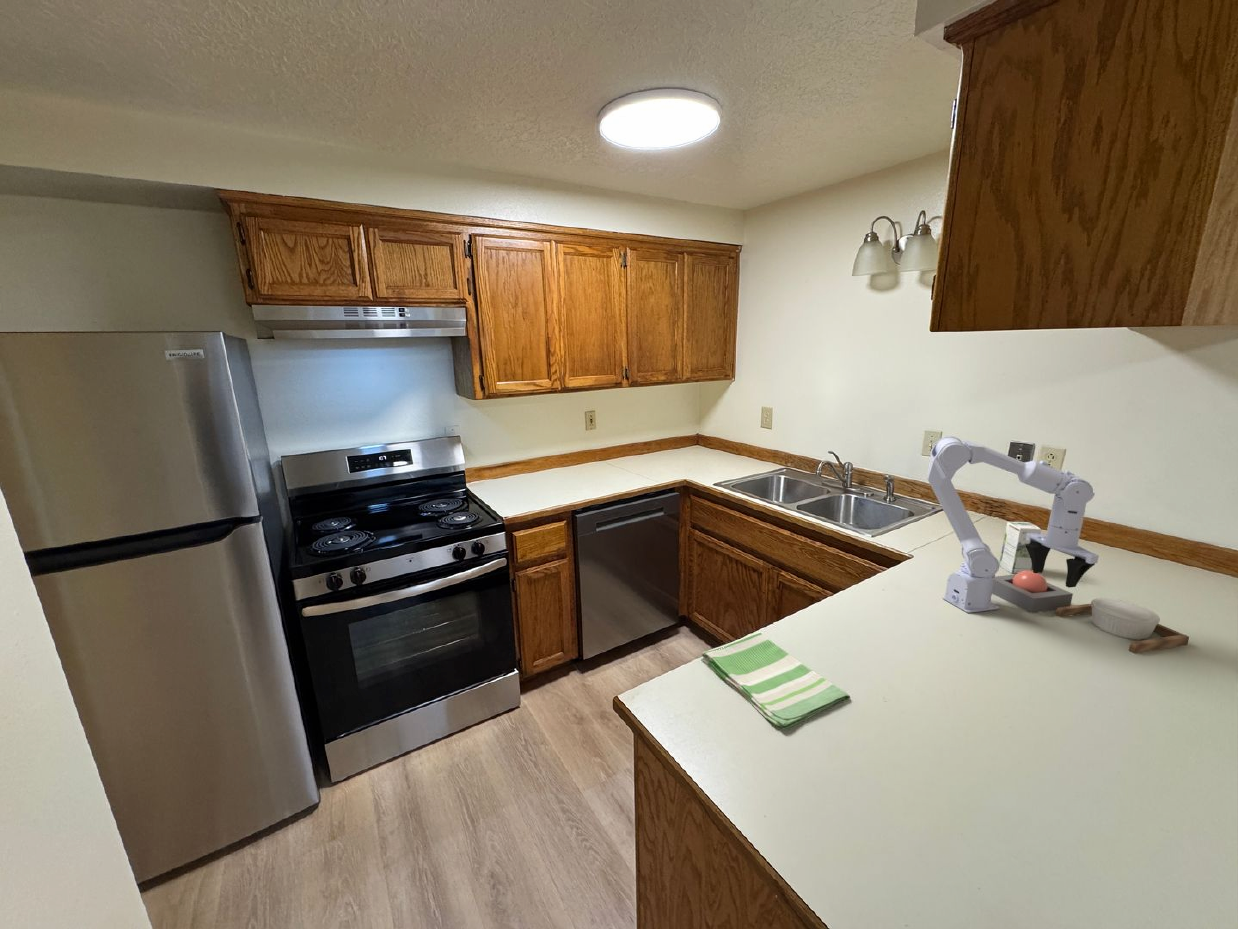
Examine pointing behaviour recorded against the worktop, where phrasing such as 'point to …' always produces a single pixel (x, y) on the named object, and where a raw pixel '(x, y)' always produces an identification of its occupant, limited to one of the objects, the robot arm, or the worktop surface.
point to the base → (1031, 595)
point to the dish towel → (773, 680)
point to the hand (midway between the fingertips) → (1053, 579)
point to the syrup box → (1017, 547)
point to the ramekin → (1123, 618)
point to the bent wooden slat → (1168, 641)
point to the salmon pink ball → (1030, 581)
